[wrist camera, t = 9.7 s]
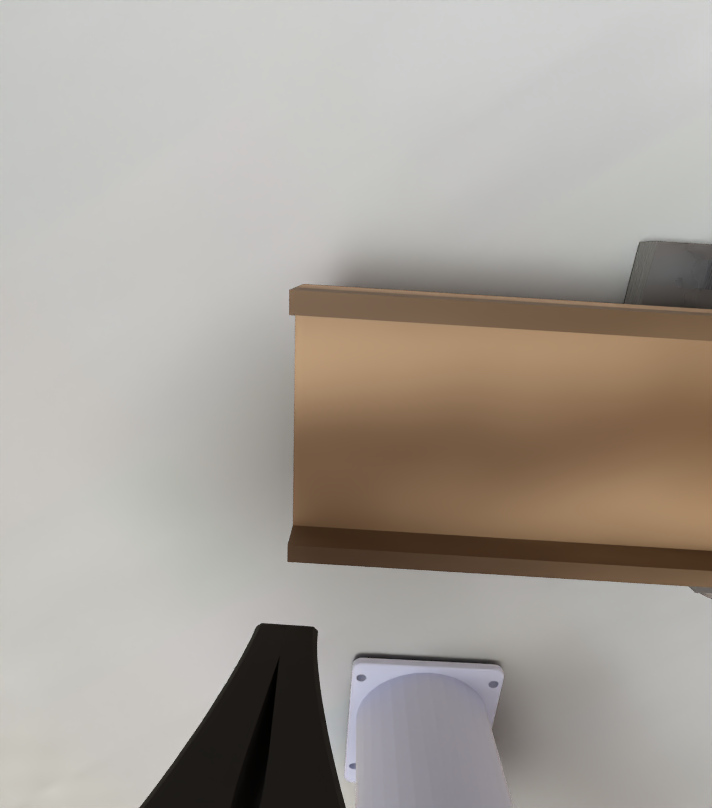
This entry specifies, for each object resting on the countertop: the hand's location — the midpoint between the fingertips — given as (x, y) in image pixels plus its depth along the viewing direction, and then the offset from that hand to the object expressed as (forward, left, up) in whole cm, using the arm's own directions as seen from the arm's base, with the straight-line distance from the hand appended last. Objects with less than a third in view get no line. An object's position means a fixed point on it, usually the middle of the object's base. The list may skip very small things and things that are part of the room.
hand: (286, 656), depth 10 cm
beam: (+4, -15, -5) cm, 17 cm away
